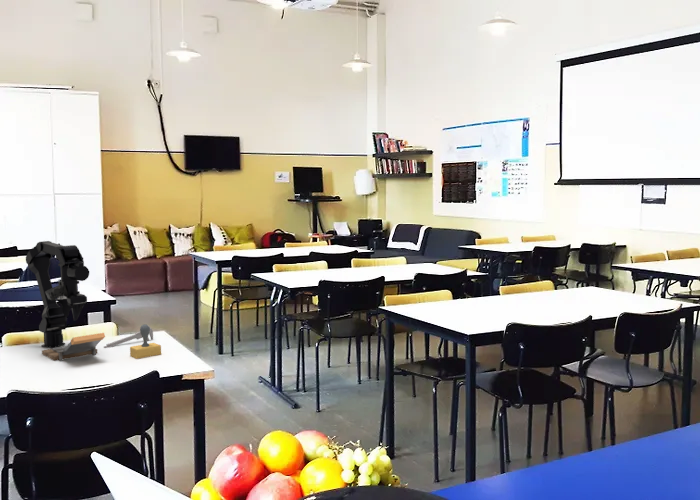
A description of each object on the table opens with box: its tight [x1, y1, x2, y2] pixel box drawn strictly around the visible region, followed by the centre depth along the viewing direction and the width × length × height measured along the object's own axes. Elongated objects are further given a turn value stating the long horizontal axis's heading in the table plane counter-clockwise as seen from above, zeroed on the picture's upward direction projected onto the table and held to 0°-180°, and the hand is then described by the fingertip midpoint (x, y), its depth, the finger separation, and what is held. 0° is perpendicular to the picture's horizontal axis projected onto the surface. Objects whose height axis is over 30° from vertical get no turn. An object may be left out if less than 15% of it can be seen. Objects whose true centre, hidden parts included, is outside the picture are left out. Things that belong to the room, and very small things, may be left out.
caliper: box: [103, 325, 154, 349], centre depth 277 cm, size 20×1×6 cm, turn 131°
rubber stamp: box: [129, 324, 162, 360], centre depth 259 cm, size 10×6×12 cm, turn 131°
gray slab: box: [62, 332, 106, 356], centre depth 251 cm, size 2×11×15 cm
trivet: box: [41, 345, 98, 362], centre depth 261 cm, size 15×16×4 cm
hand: (70, 318), depth 263 cm, fingers open, 9 cm apart
